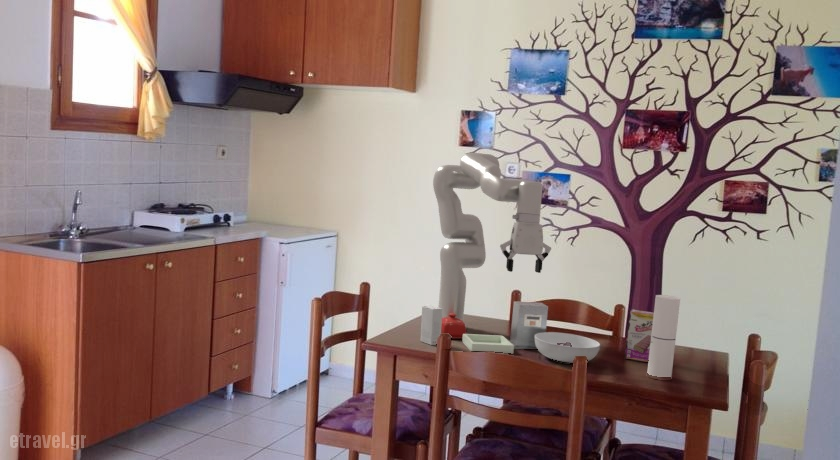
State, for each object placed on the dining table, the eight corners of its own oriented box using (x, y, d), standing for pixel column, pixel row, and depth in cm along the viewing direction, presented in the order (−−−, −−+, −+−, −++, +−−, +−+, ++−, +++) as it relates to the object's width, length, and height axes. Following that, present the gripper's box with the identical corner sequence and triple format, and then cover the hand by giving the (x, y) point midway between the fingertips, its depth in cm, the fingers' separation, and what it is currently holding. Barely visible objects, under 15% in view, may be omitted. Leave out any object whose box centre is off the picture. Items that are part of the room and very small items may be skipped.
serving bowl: (594, 372, 234) (597, 350, 233) (527, 361, 240) (529, 340, 239) (601, 358, 253) (603, 338, 253) (538, 348, 260) (540, 328, 259)
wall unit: (506, 342, 264) (510, 300, 263) (539, 344, 266) (543, 302, 265) (513, 349, 256) (517, 305, 254) (547, 350, 258) (552, 307, 256)
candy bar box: (624, 359, 254) (629, 311, 252) (625, 356, 258) (630, 308, 257) (659, 365, 250) (664, 316, 249) (659, 361, 255) (665, 313, 253)
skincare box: (440, 344, 254) (444, 308, 253) (430, 345, 251) (433, 309, 250) (429, 340, 258) (432, 305, 257) (418, 341, 255) (421, 305, 254)
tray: (462, 341, 260) (462, 333, 260) (501, 343, 263) (502, 335, 262) (471, 351, 247) (472, 343, 246) (513, 353, 249) (513, 345, 249)
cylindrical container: (657, 381, 229) (666, 299, 227) (641, 374, 236) (650, 294, 234) (676, 380, 232) (685, 299, 230) (660, 373, 239) (668, 295, 237)
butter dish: (471, 341, 264) (474, 316, 263) (440, 340, 260) (442, 316, 259) (460, 333, 274) (462, 310, 274) (430, 333, 271) (432, 309, 270)
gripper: (506, 218, 241) (502, 272, 242) (557, 221, 245) (553, 274, 246) (498, 217, 248) (494, 269, 250) (548, 220, 253) (544, 271, 254)
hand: (523, 271), depth 248 cm, fingers open, 9 cm apart
